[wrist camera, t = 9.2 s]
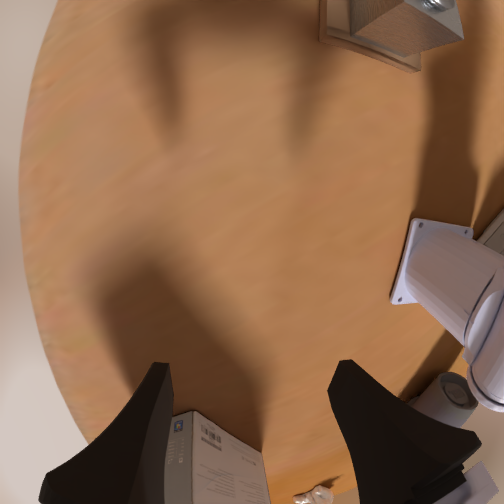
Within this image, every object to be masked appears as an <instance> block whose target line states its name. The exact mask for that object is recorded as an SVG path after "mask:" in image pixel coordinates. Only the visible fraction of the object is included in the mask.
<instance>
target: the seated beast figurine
mask: <svg viewBox="0 0 504 504" xmlns="http://www.w3.org/2000/svg"><path fill="white" fill-rule="evenodd" d="M333 497H334V495H333V493H332V491H331V490H330V489H329V488H326V487H323V486H321V485H319V486H316V487H315V488H314V490H312V491H310V492H307V493H305V494H303V495H297V496H294V497H293V501H294V502H295V503H300V504H302V503H307V502H309V503H311V504H332V501H333Z"/></svg>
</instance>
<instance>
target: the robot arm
mask: <svg viewBox="0 0 504 504" xmlns="http://www.w3.org/2000/svg"><path fill="white" fill-rule="evenodd" d="M420 223H421V225H420V226H419V224H420ZM472 237H473V229H472V228H470V227H466V226H460V225H455V224H449V223H444V222H438V221H432V220H426V219H420V218H414V219H412V221H411V224H410V228H409V233H408V237H407V241H406V245H405V249H404V253H403V257H402V261H401V264H400V268H399V271H398V275H397V278H396V281H395V285H394V288H393V291H392V294H391V297H390V302H391V303H392V304H407V303H418V302H419V303H420V304H421V305H422V306H423V307H424V308H425V309H426V310H427V311H428V312H429V313H430V314H431V315H432V316H434V317H435V318H436V319H437V320H438V321H439V322H440V323H441V324H442V325H443V326H444V327H445V328H446V329H447V330H448V331H449V332H450V333H451V334H452V335H453V336H454V337H455V338H456V339H457V340H458V341H459V342H460V343H461V344H462V345H463V346H464V347H465V350H464V353H463V355H462V357H463V358H464V360H465V361H466V362H467V363H468V364H469V366H468V369H467V382H468V385H469V388H470V390H471V392H472V394H473V395H474V396H475V398H476V399H477V400H478V401H479V402H480V403H481V404H482V405H484V406H485V407H487V408H489V409H491V410H494V411H498V412H504V256H503V255H501V254H499V253H497V252H496V251H494V250H492V249H490V248H488V247H487V246H485V245H483V244H481V243H479V242H477V241H475V240H473V239H472ZM399 298H400V299H399ZM398 299H399V300H398ZM327 391H328V395H329V400H330V403H331V407H332V410H333V413H334V415H335V418H336V420H337V423H338V425H339V427H340V430H341V432H342V434H343V437H344V439H345V442H346V444H347V446H348V449H349V452H350V455H351V459H352V463H353V467H354V471H355V476H356V480H357V486H358V491H359V498H360V504H486V503H487V502H488V501H489V500H490V499H491V498H493V496H494V495H495V494H497V493H498V491H499V490H498V488H497V486H496V484H495V483H494V481H493V479H492V477H491V476H490V474H489V473H488V471H487V469H486V467H485V466H484V464H483V462H482V461H480V462H478V463H477V464H476V465H475V466H473V467H472V468H471V469H469V470H468V471H467V472H465V473H464V474H463V473H462V470H463V469H464V466H463V464H462V463H463V462H464V461H466V460H467V459H468V458H469V457H470V456H471V455H472V454H474V453H475V452H476V451H477V449H479V448H480V446H481V444H482V443H481V441H480V440H479V438H478V437H477V435H476V433H475V432H474V431H469V430H465V429H461V428H457V427H454V426H451V425H448V424H445V423H442V422H440V421H437V420H435V419H433V418H431V417H429V416H426V415H425V414H423V413H421V412H419V411H417V410H416V409H414V408H412V407H411V406H409V405H407V404H406V403H404V402H403V401H402V400H400V399H399V398H397V397H396V396H395V395H393V394H392V393H391V392H389V391H388V390H387V389H386V388H384V387H383V386H382V385H381V384H380V383H378V382H377V381H376V380H375V379H374V378H373V377H371V376H370V375H369V374H368V373H367V372H366V371H365V370H363V369H362V368H361V367H360V366H359V365H358V364H356V363H355V362H354V361H353V360H352V359H350V360H342V361H339V363H338V366H337V368H336V371H335V373H334V376H333V378H332V381H331V383H330V385H329V388H328V390H327ZM173 397H174V394H173V387H172V381H171V374H170V367H169V363H159V362H154V363H153V364H152V365H151V367H150V369H149V371H148V372H147V374H146V376H145V377H144V379H143V381H142V382H141V384H140V385H139V387H138V388H137V390H136V391H135V393H134V394H133V396H132V397H131V399H130V400H129V402H128V403H127V404H126V405H125V407H124V408H123V409H122V411H121V412H120V413H119V414H118V416H117V417H116V418H115V419H114V420H113V422H112V423H111V424H110V425H109V426H108V427H107V428H106V429H105V430H104V431H103V432H102V433H101V434H100V435H99V436H98V437H97V438H96V439H95V440H94V441H93V442H92V443H90V444H89V445H88V446H87V447H86V448H85V449H83V450H82V451H81V452H79V453H78V454H77V455H75V456H74V457H72V458H71V459H70V460H68V461H67V462H65V463H64V464H62V465H60V466H58V467H57V468H55V469H54V470H52V471H50V472H48V473H47V474H46V476H45V478H44V480H43V483H42V486H41V490H40V495H39V502H40V503H41V504H165V497H164V473H165V458H166V451H167V445H168V439H169V433H170V427H171V421H172V414H173Z"/></svg>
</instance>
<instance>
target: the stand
mask: <svg viewBox="0 0 504 504" xmlns="http://www.w3.org/2000/svg"><path fill="white" fill-rule="evenodd" d="M319 42H323V43H327V44H330V45H334V46H338V47H341V48H345V49H348V50H351V51H354V52H357V53H360V54H363V55H366V56H369V57H372V58H374V59H377V60H380V61H382V62H385V63H387V64H390V65H392V66H394V67H397V68H399V69H401V70H404V71H406V72H408V73H413V72H417V71H421V55H420V52H419V53H416V54H413V55H410V56H407V57H405V58H403V57H401V56H398V55H396V54H394V53H392V52H389V51H387V50H384V49H382V48H380V47H377V46H374V45H372V44H369V43H367V42H364V41H361V40H358V39H355V38H352V37H350V0H320V27H319Z"/></svg>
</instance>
